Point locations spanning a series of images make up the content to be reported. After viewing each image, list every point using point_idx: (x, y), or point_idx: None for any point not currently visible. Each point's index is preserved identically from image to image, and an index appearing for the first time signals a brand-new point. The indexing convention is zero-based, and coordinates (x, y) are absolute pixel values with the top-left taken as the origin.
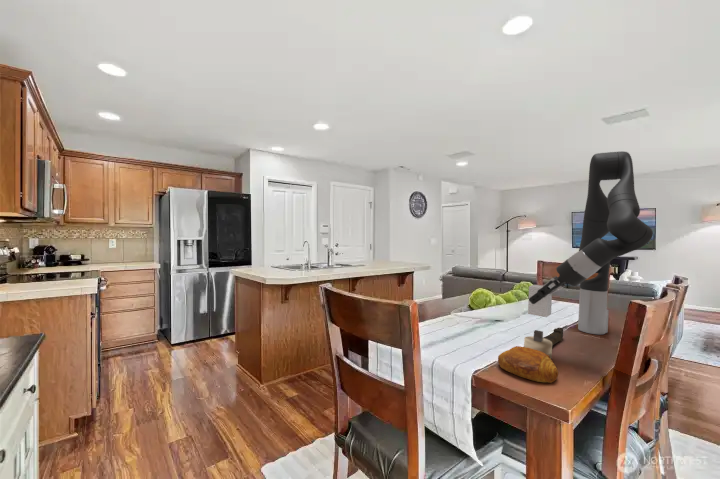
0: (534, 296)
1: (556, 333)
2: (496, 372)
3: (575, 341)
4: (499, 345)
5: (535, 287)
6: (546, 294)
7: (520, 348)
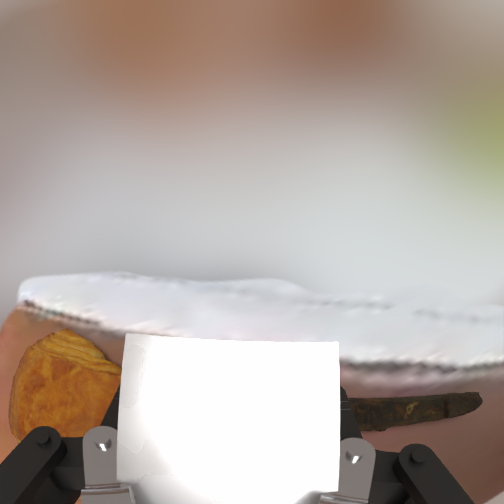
0: (110, 405)
1: (432, 412)
2: (35, 342)
3: (463, 440)
4: (240, 292)
5: (119, 405)
6: (38, 496)
7: (38, 383)
